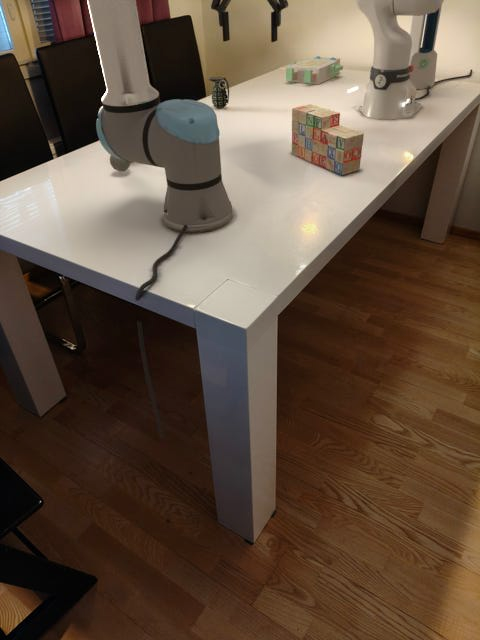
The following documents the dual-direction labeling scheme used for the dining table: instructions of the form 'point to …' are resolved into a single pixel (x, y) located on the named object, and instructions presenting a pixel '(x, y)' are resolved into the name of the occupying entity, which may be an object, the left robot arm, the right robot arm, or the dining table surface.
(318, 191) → the dining table surface
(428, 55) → the electronic device
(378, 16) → the right robot arm
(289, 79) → the decorative block
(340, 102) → the dining table surface
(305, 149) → the stack of blocks
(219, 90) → the grenade
